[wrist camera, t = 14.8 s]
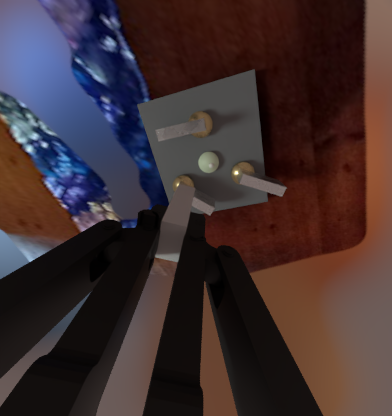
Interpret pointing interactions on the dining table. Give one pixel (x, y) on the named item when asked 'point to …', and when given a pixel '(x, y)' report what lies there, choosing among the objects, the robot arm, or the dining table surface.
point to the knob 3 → (256, 179)
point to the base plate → (210, 139)
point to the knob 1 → (188, 127)
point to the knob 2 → (196, 195)
